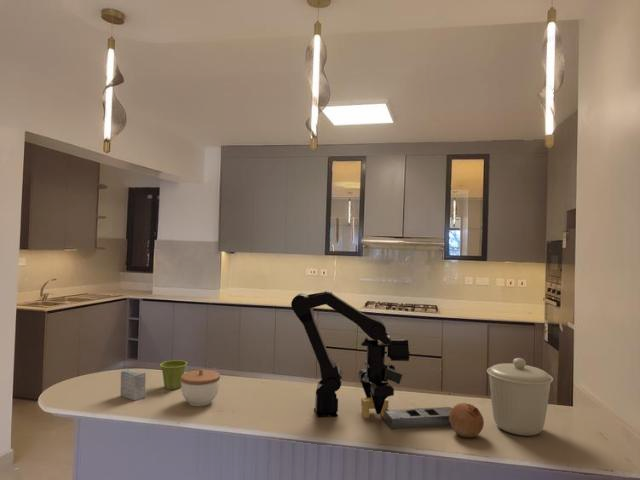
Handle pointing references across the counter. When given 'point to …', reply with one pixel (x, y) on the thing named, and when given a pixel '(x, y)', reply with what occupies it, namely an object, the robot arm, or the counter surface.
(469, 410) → the onion
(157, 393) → the counter surface
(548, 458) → the counter surface
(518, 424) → the canister
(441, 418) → the rail
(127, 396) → the medicine box
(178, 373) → the plant pot
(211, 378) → the lidded bowl
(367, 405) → the yellow rectangular block
